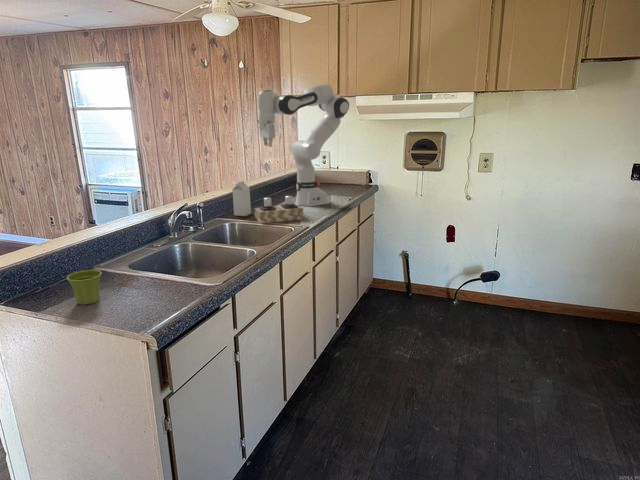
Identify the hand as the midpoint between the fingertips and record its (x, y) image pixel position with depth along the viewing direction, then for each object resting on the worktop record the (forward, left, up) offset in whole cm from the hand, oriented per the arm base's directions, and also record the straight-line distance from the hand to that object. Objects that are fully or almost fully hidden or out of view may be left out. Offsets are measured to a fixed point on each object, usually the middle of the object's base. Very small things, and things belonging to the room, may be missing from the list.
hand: (268, 146), depth 246 cm
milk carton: (+17, 0, -38) cm, 42 cm away
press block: (+1, +19, -38) cm, 42 cm away
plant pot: (+87, +100, -38) cm, 138 cm away
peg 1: (+7, +19, -33) cm, 38 cm away
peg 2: (-5, +19, -33) cm, 38 cm away
